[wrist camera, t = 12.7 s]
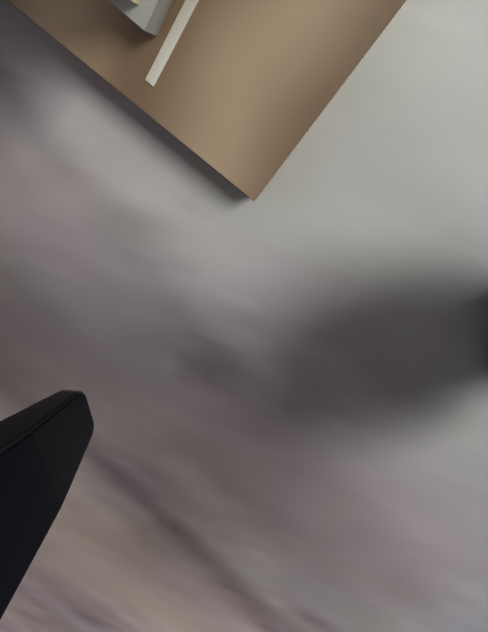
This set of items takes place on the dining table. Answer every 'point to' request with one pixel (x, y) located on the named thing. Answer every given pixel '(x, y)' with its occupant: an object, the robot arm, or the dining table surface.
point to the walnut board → (225, 68)
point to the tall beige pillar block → (145, 12)
